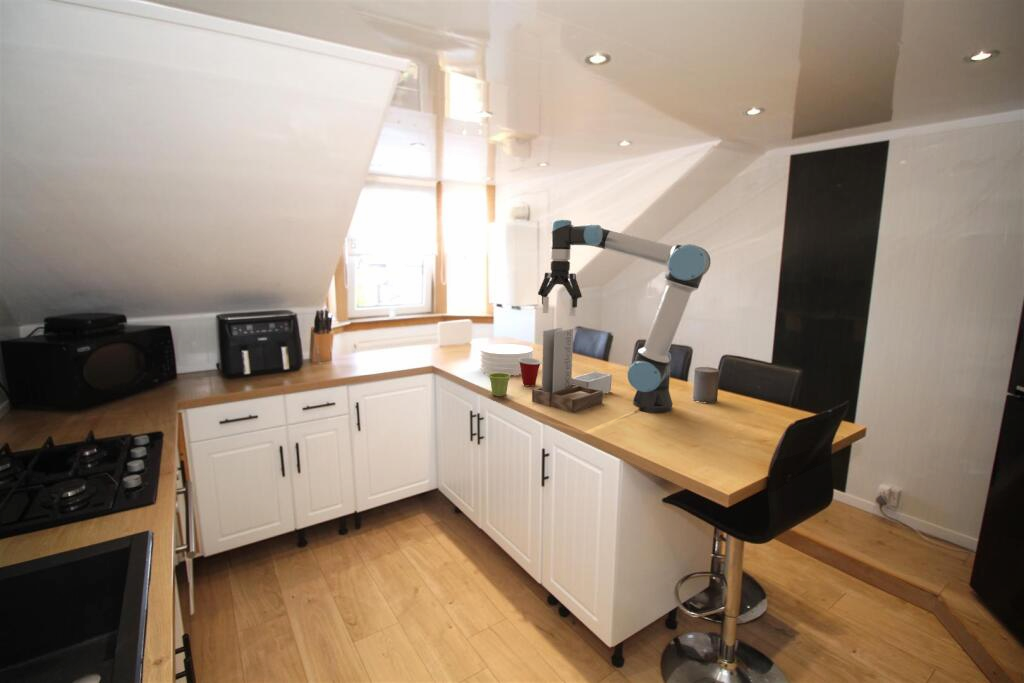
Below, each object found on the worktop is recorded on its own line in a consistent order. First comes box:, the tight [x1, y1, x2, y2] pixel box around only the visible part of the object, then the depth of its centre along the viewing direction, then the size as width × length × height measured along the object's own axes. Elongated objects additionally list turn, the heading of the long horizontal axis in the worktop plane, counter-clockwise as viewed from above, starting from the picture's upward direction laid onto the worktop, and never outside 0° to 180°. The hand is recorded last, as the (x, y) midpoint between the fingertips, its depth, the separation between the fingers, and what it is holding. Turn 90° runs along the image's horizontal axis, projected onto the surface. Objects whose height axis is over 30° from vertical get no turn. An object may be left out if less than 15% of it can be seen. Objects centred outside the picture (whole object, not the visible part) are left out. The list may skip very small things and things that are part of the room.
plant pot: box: [488, 373, 511, 397], centre depth 198 cm, size 9×9×9 cm
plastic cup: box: [519, 357, 542, 387], centre depth 215 cm, size 11×11×12 cm
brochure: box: [541, 327, 574, 393], centre depth 187 cm, size 14×6×30 cm, turn 143°
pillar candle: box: [692, 365, 720, 404], centre depth 193 cm, size 10×10×15 cm
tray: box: [531, 384, 604, 414], centre depth 185 cm, size 21×19×6 cm
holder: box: [571, 371, 613, 395], centre depth 201 cm, size 9×18×8 cm, turn 136°
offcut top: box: [562, 391, 589, 399], centre depth 182 cm, size 8×14×2 cm, turn 129°
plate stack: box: [480, 343, 534, 376], centre depth 246 cm, size 28×28×12 cm
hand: (558, 314), depth 184 cm, fingers open, 13 cm apart
